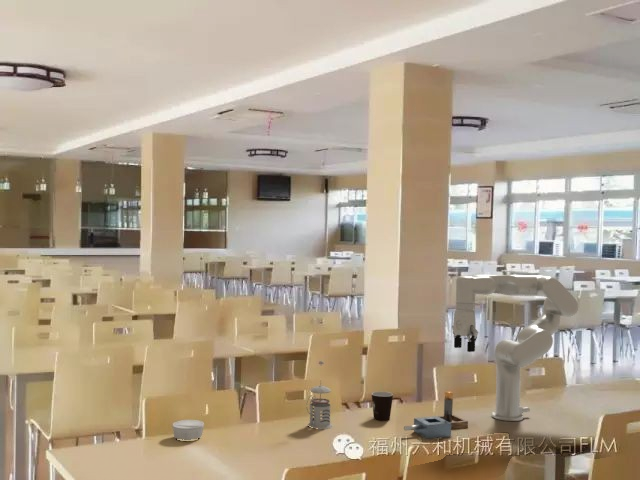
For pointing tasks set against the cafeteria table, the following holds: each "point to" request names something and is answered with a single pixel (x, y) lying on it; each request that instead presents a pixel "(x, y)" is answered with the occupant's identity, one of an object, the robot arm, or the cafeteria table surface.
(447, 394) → the orange grey cylinder
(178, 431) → the ramekin
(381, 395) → the coffee mug
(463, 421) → the tray
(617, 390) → the cafeteria table surface
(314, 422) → the french press
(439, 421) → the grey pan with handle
